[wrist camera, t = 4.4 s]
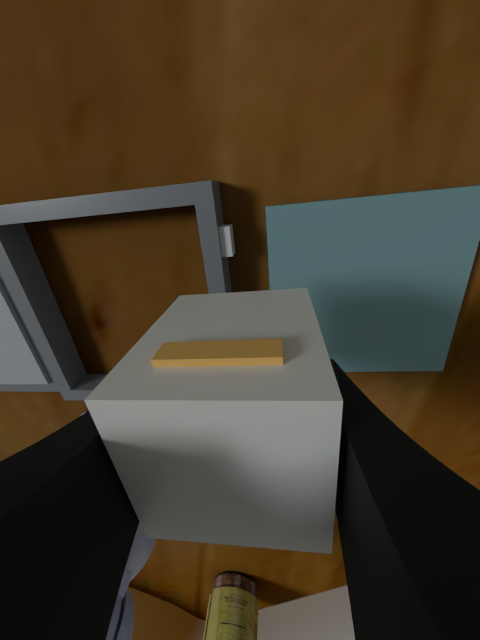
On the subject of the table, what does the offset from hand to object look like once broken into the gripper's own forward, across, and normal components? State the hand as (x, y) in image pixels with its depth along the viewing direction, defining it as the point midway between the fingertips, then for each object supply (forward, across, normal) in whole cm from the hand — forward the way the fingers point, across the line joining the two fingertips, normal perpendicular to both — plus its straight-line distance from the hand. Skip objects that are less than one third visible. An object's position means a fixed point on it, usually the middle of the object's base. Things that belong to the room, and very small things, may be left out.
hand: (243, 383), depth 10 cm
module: (+2, 0, 0) cm, 2 cm away
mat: (+9, -6, 0) cm, 11 cm away
